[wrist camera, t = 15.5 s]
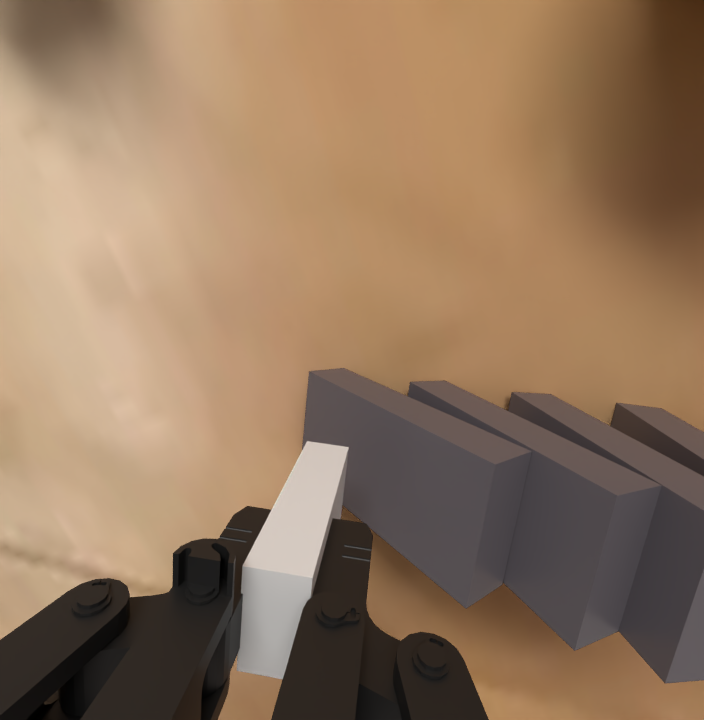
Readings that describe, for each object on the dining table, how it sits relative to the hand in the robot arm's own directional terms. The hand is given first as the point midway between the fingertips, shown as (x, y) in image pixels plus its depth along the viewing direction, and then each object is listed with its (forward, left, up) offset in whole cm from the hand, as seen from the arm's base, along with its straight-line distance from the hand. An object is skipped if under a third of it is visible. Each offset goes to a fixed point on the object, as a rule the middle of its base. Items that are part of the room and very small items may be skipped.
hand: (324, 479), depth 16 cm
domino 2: (+4, 0, -6) cm, 7 cm away
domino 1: (-1, 0, -6) cm, 6 cm away
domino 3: (+9, 0, -6) cm, 11 cm away
